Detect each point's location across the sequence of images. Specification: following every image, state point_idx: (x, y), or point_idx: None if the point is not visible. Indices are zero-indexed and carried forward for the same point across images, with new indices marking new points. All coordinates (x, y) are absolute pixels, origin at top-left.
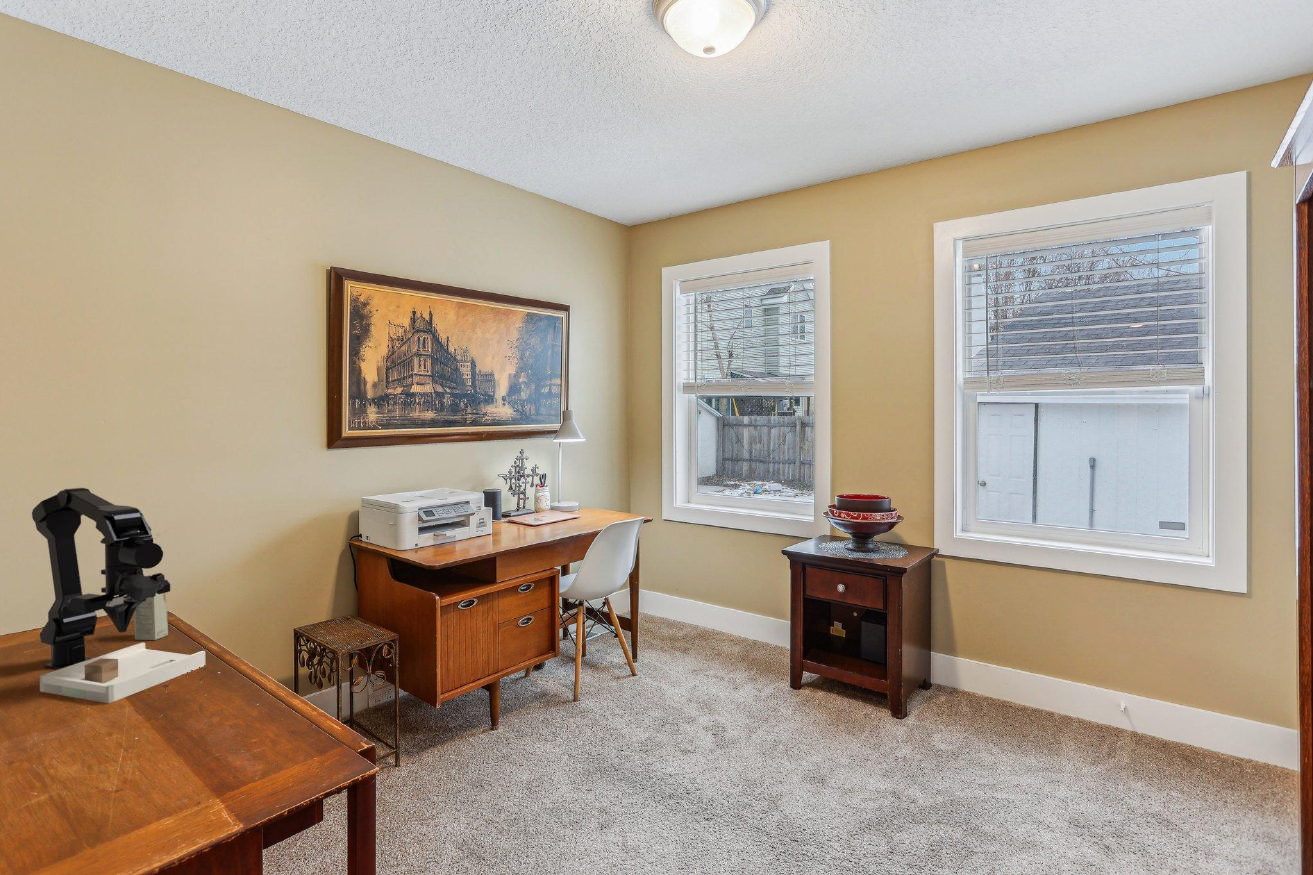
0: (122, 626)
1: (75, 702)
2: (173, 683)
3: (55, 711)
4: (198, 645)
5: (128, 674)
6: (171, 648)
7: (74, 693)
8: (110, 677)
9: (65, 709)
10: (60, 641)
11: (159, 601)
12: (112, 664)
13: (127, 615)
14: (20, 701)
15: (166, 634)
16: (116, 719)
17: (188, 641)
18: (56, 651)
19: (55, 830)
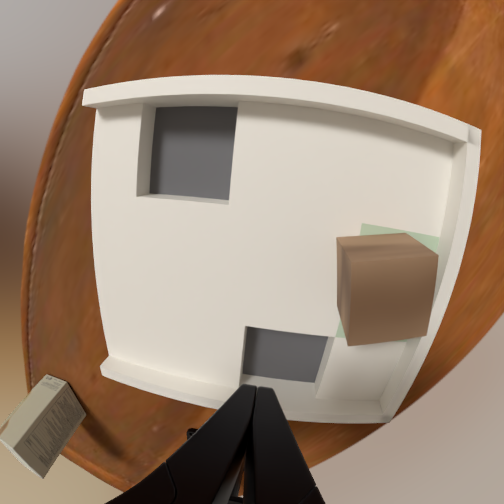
0: (276, 423)
1: None
2: (272, 52)
3: (495, 241)
4: (34, 269)
5: (309, 216)
6: (66, 320)
7: None
8: (375, 237)
9: (487, 227)
10: (236, 498)
11: (13, 430)
12: (380, 254)
13: (212, 500)
14: (433, 375)
15: (47, 376)
16: (494, 49)
17: (35, 313)
18: (239, 482)
19: None
